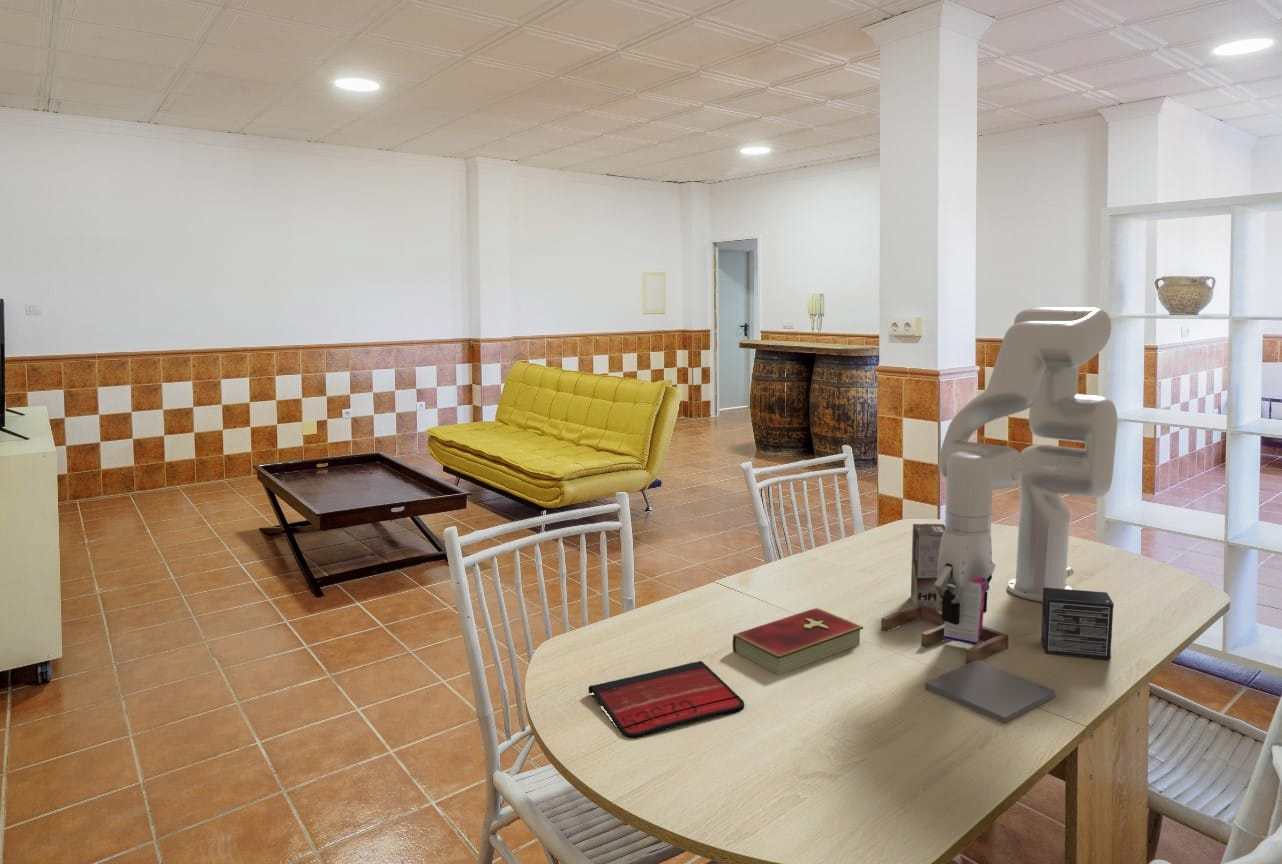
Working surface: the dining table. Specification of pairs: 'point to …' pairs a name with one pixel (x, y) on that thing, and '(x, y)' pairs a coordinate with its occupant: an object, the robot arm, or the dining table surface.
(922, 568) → the coffee box
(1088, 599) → the small box
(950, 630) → the supplement box
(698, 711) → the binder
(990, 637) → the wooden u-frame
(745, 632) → the hardcover book
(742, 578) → the dining table surface
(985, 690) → the slate board
